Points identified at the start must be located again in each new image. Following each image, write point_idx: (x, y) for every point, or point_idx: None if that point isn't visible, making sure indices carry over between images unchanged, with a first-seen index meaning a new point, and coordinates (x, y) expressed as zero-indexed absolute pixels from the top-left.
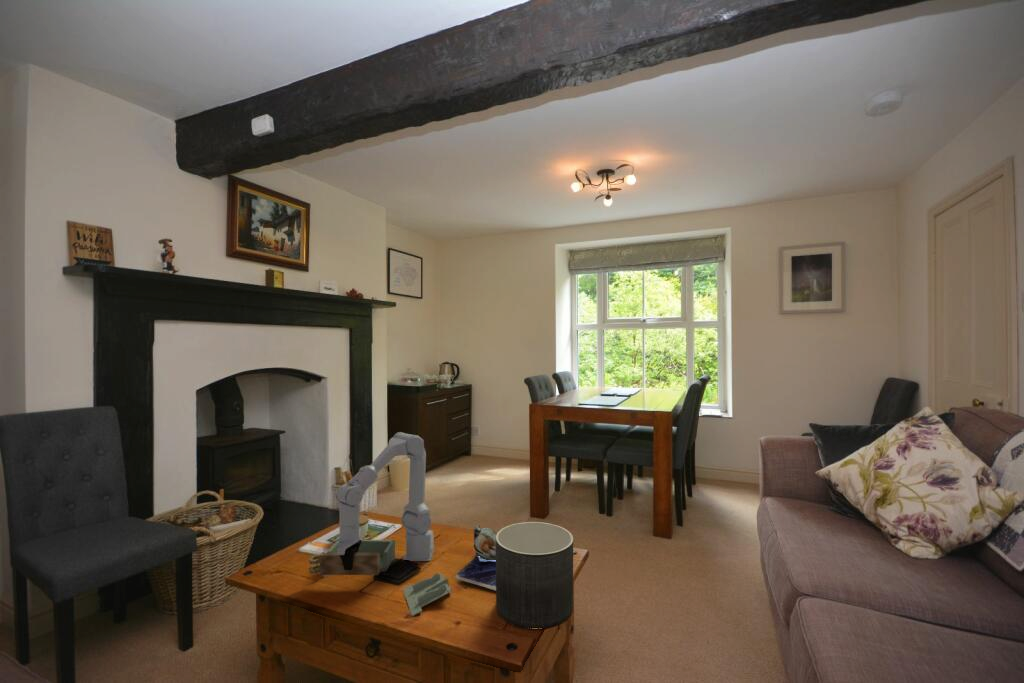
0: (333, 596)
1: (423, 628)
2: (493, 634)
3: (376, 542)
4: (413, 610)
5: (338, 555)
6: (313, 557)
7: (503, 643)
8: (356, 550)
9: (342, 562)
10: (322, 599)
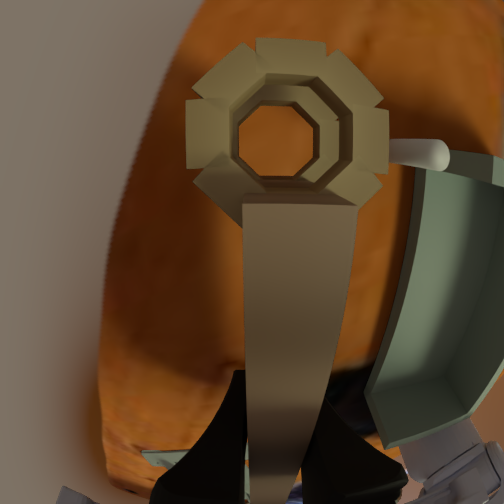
0: (170, 277)
1: (117, 456)
2: (143, 490)
3: (493, 369)
4: (153, 457)
5: (248, 420)
6: (314, 77)
7: (132, 489)
8: (302, 484)
9: (219, 408)
10: (139, 237)
